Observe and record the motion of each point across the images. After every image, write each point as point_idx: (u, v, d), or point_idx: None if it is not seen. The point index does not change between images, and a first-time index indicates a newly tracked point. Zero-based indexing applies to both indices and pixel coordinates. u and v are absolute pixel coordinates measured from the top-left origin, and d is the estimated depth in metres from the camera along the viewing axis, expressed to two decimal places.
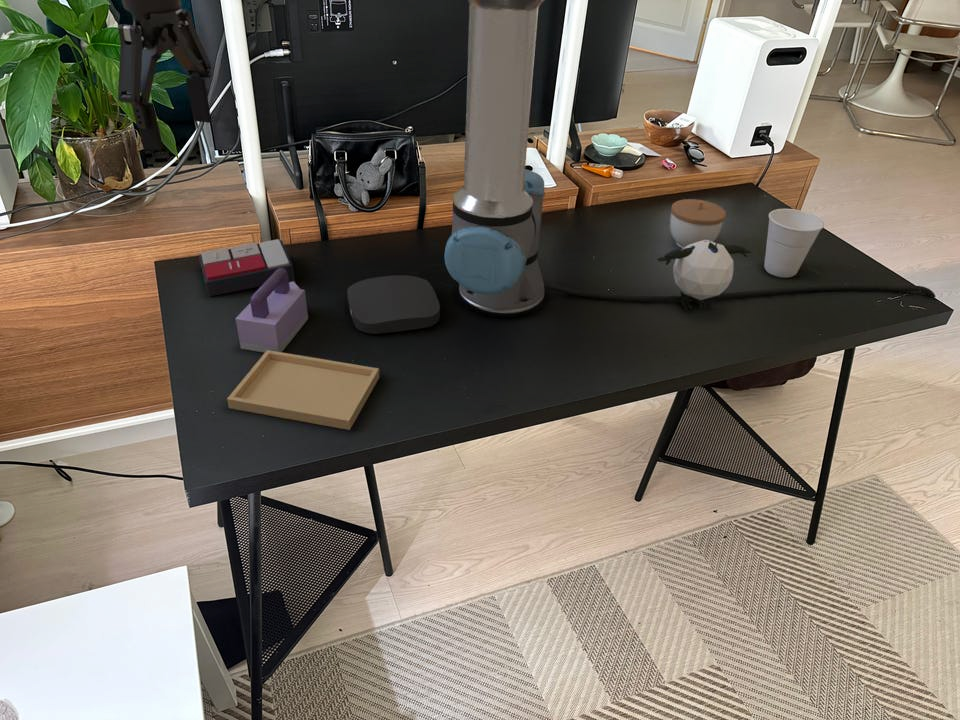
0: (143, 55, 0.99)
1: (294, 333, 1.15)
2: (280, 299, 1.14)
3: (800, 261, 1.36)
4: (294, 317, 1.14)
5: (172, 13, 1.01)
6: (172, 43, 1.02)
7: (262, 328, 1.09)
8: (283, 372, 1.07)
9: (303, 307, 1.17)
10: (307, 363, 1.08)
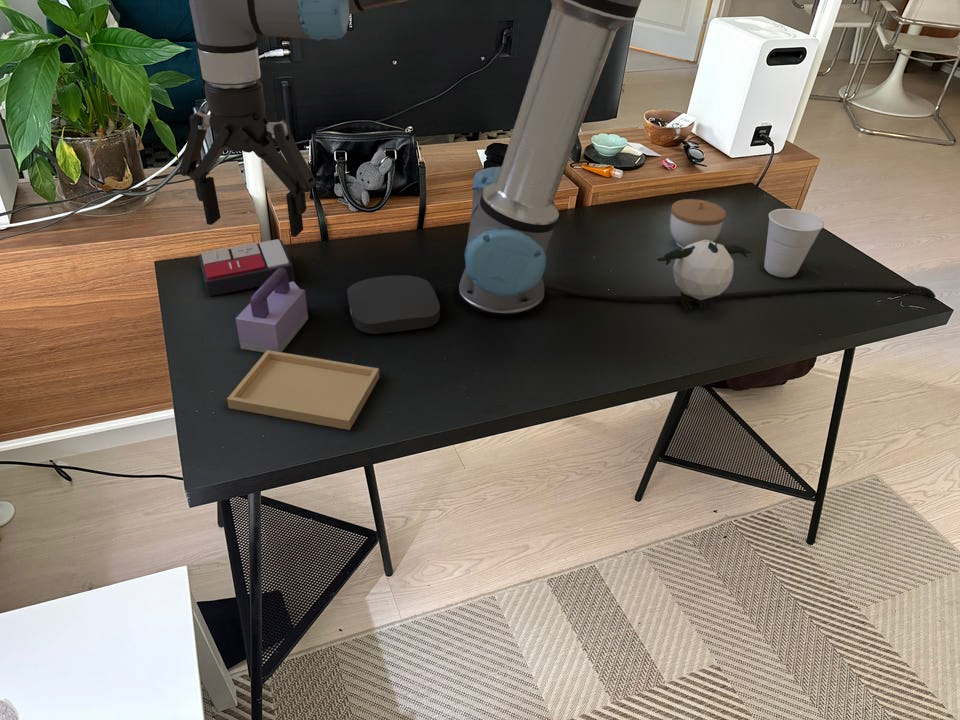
0: None
1: (294, 333, 1.15)
2: (280, 299, 1.14)
3: (800, 261, 1.36)
4: (294, 317, 1.14)
5: (251, 120, 0.97)
6: (246, 146, 1.00)
7: (262, 328, 1.09)
8: (283, 372, 1.07)
9: (303, 307, 1.17)
10: (307, 363, 1.08)
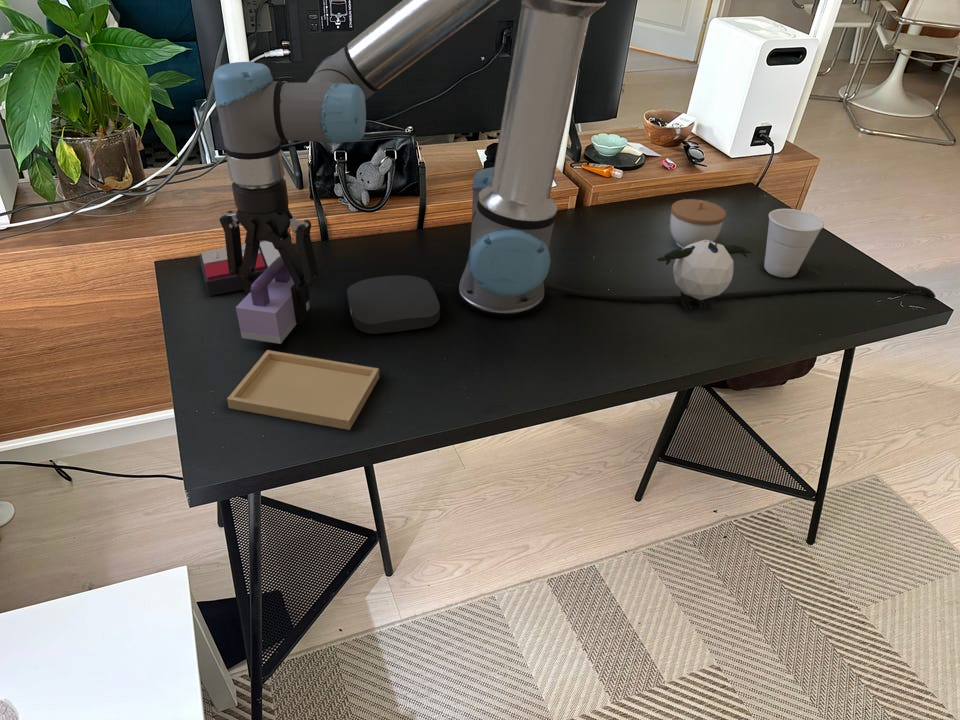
0: None
1: (295, 322, 1.14)
2: (281, 287, 1.13)
3: (800, 261, 1.36)
4: None
5: (276, 215, 1.04)
6: None
7: (263, 316, 1.07)
8: (283, 372, 1.07)
9: None
10: (307, 363, 1.08)
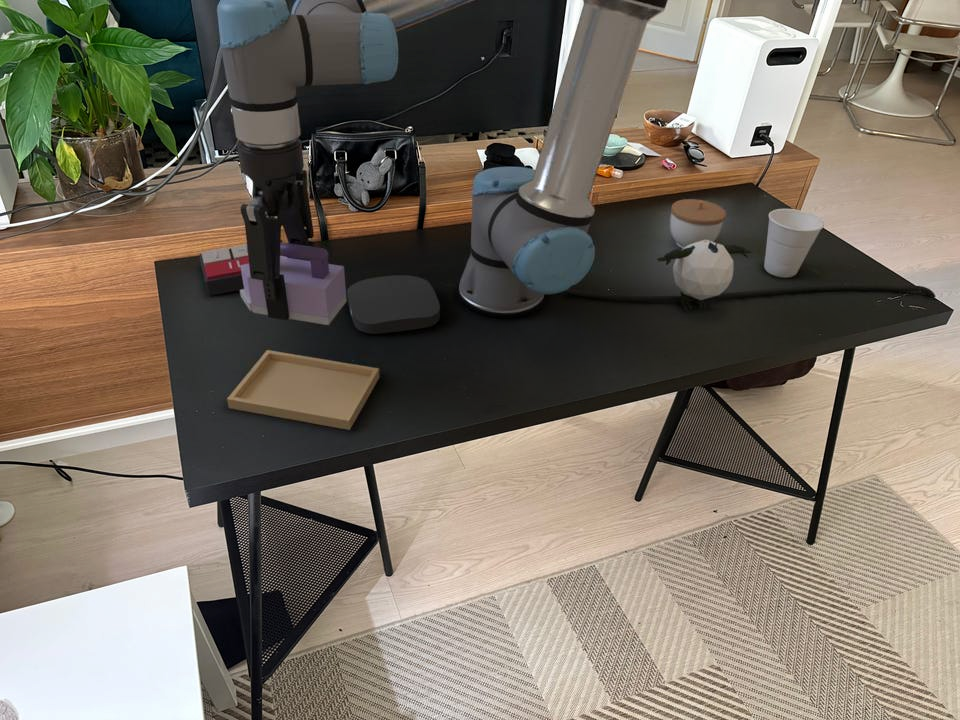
0: None
1: None
2: (287, 266, 0.97)
3: (800, 261, 1.36)
4: None
5: None
6: (289, 202, 0.91)
7: (338, 279, 0.96)
8: (283, 372, 1.07)
9: None
10: (307, 363, 1.08)
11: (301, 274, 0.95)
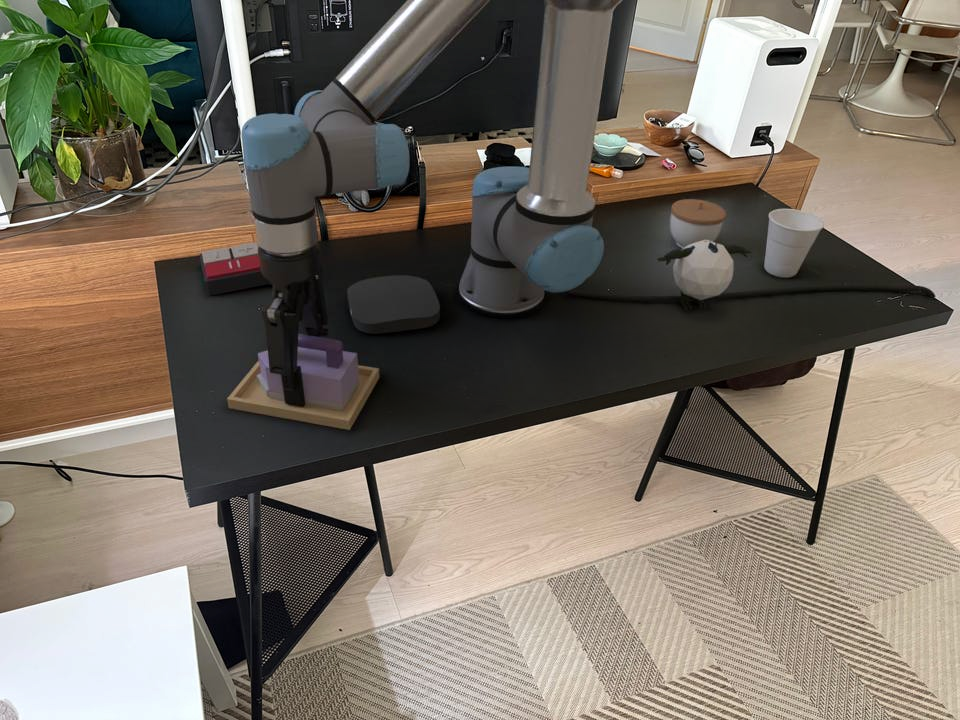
0: None
1: None
2: (303, 354, 1.01)
3: (800, 261, 1.36)
4: None
5: None
6: (306, 298, 0.96)
7: (352, 367, 1.01)
8: None
9: None
10: None
11: (317, 363, 0.99)
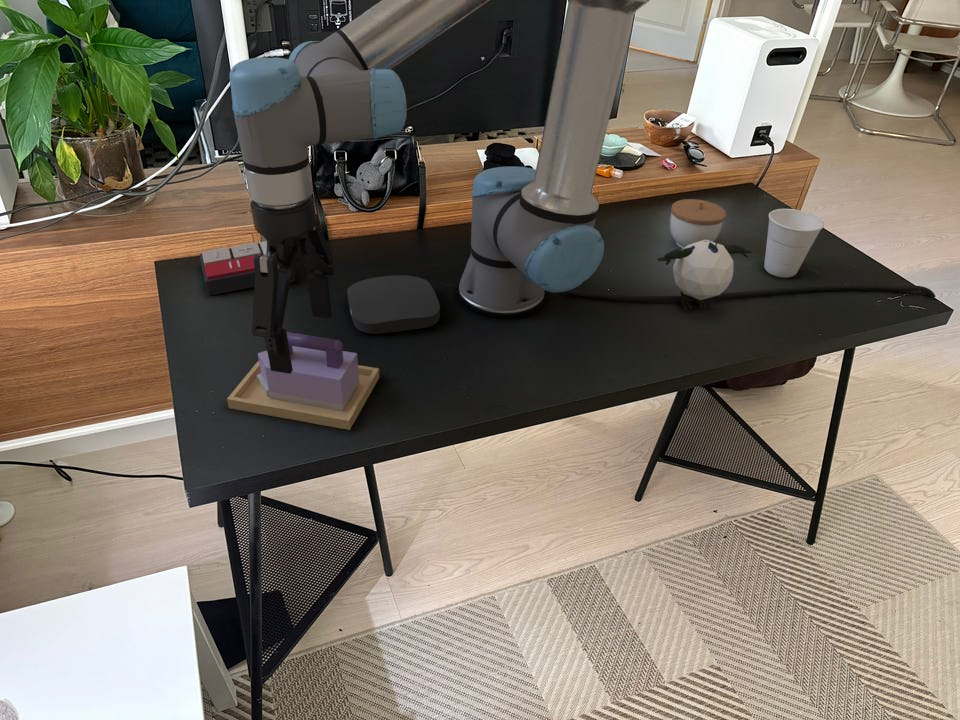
0: None
1: None
2: (303, 354, 1.01)
3: (800, 261, 1.36)
4: None
5: None
6: (302, 256, 0.92)
7: (352, 367, 1.01)
8: None
9: None
10: None
11: (317, 363, 0.99)
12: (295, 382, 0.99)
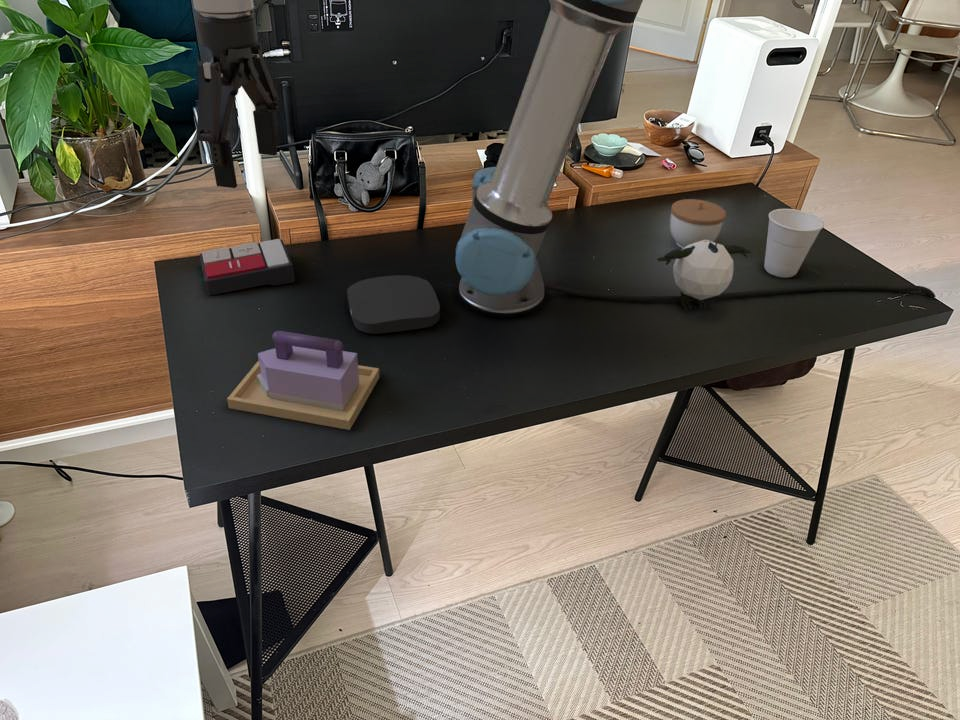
0: None
1: None
2: (303, 354, 1.01)
3: (800, 261, 1.36)
4: None
5: None
6: (246, 78, 0.99)
7: (352, 367, 1.01)
8: None
9: None
10: None
11: (317, 363, 0.99)
12: (295, 382, 0.99)
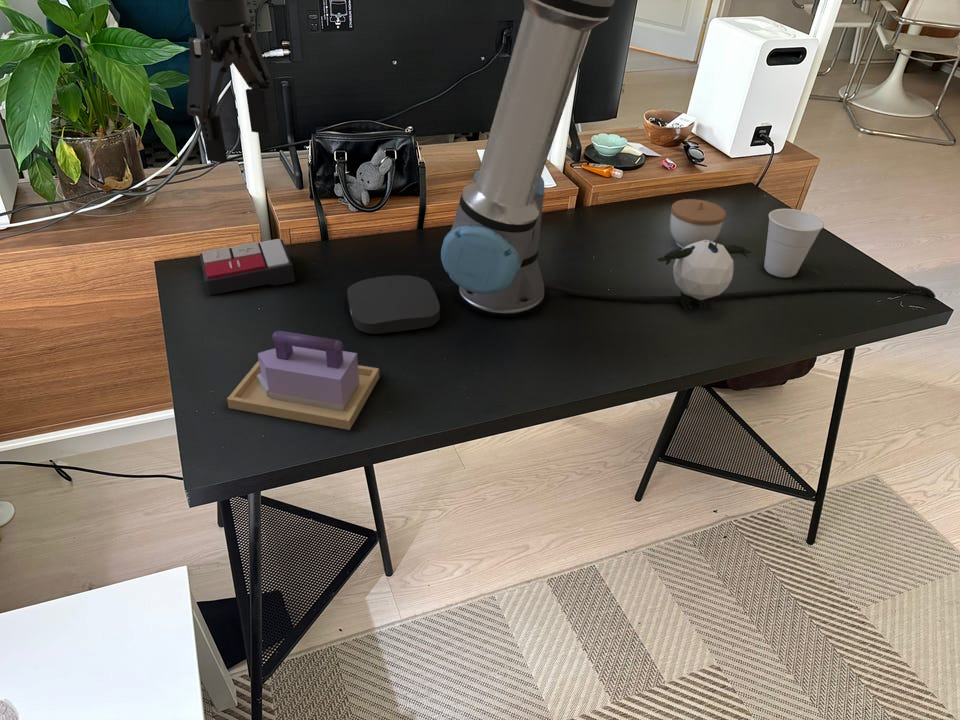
0: (210, 68, 0.99)
1: None
2: (303, 354, 1.01)
3: (800, 261, 1.36)
4: None
5: (237, 26, 1.02)
6: (237, 55, 1.03)
7: (352, 367, 1.01)
8: None
9: None
10: None
11: (317, 363, 0.99)
12: (295, 382, 0.99)
